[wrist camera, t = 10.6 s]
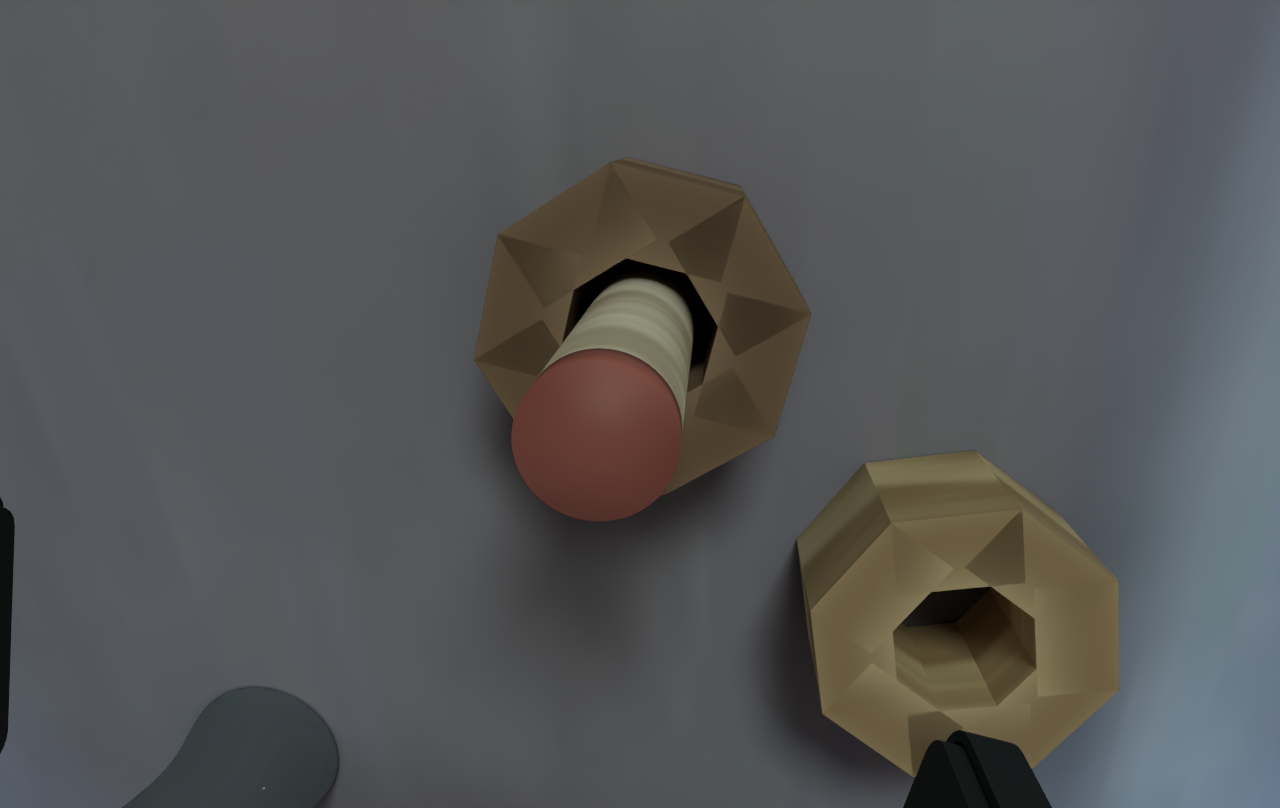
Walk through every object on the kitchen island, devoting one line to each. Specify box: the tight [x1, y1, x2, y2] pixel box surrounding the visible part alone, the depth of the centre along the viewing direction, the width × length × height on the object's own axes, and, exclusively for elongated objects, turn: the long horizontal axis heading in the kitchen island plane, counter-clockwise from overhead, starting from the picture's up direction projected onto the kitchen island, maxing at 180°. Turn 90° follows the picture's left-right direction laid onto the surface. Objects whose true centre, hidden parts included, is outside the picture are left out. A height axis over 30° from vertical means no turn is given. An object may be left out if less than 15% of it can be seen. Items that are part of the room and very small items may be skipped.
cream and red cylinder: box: [511, 260, 697, 522], centre depth 23 cm, size 3×3×14 cm
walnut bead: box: [474, 157, 811, 495], centre depth 28 cm, size 9×9×5 cm
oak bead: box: [797, 451, 1119, 777], centre depth 30 cm, size 9×9×5 cm
